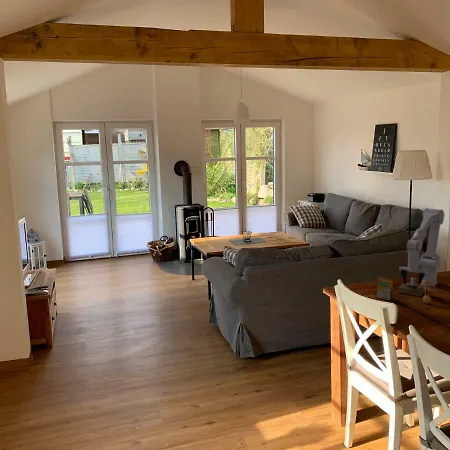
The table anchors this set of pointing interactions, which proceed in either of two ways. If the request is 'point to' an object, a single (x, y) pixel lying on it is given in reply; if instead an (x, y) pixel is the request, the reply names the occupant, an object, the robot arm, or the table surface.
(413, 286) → the metal peg
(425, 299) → the figurine
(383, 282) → the crayon box
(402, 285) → the hole block
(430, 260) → the robot arm
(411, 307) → the table surface
